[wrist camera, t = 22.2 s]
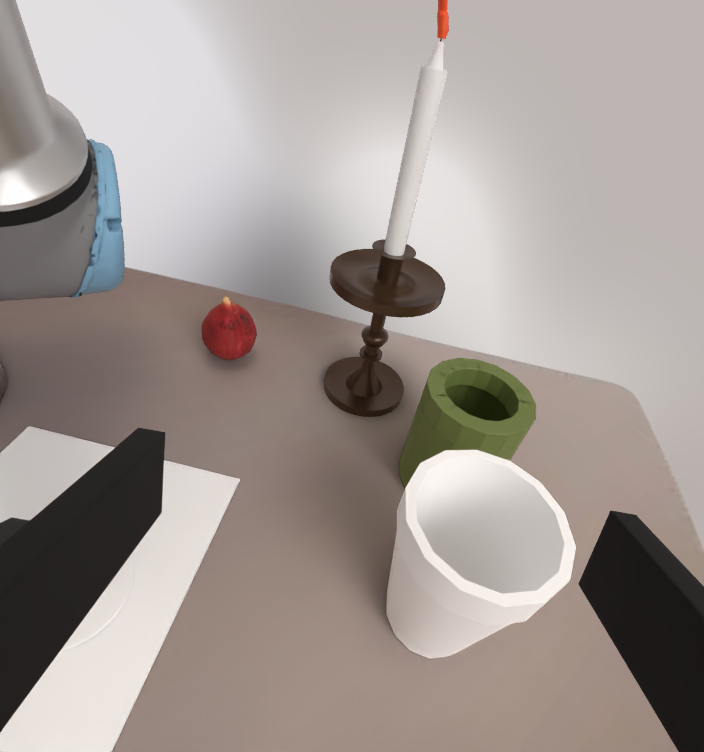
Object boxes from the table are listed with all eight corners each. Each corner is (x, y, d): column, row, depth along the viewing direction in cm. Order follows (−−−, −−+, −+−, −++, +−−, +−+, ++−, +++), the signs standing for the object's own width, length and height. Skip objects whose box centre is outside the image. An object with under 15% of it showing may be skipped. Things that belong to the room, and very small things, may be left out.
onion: (266, 355, 52) (267, 297, 46) (234, 381, 48) (232, 321, 42) (227, 336, 53) (224, 278, 48) (193, 360, 49) (186, 299, 44)
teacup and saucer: (-44, 634, 27) (-77, 608, 24) (47, 521, 33) (29, 491, 30) (89, 671, 27) (70, 648, 24) (157, 550, 33) (148, 521, 30)
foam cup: (432, 530, 37) (484, 430, 29) (515, 632, 32) (608, 545, 24) (340, 588, 33) (371, 487, 24) (420, 718, 27) (494, 648, 19)
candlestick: (303, 407, 46) (352, -47, 23) (330, 349, 54) (384, -28, 32) (403, 433, 45) (552, -9, 23) (414, 371, 54) (531, 0, 31)
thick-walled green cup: (382, 451, 43) (408, 367, 36) (453, 431, 47) (489, 351, 40) (429, 528, 37) (471, 446, 30) (506, 498, 41) (559, 419, 34)
